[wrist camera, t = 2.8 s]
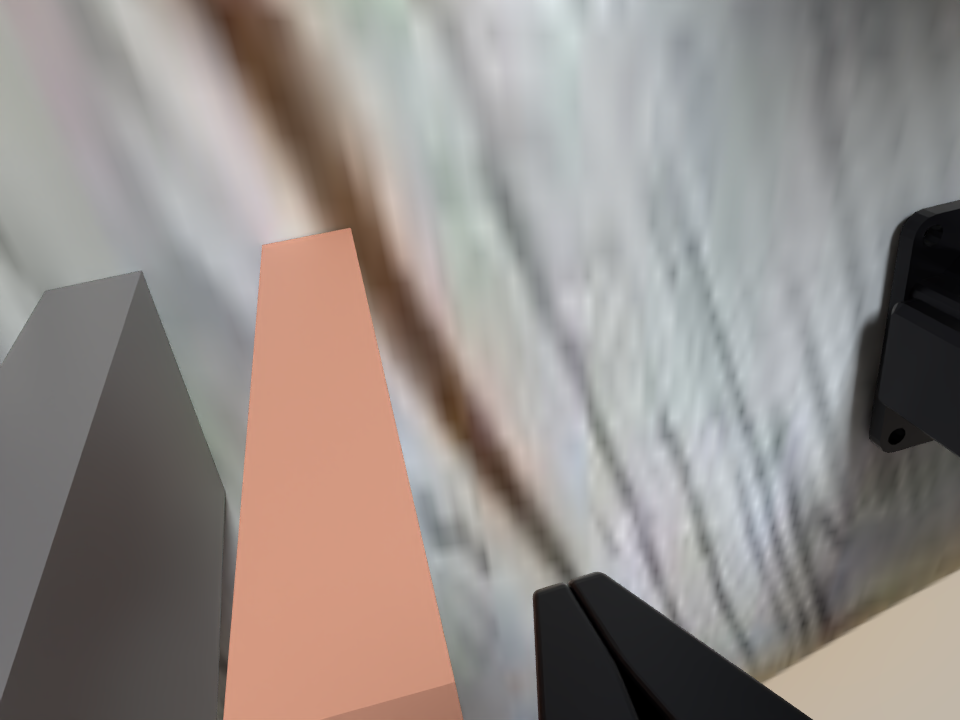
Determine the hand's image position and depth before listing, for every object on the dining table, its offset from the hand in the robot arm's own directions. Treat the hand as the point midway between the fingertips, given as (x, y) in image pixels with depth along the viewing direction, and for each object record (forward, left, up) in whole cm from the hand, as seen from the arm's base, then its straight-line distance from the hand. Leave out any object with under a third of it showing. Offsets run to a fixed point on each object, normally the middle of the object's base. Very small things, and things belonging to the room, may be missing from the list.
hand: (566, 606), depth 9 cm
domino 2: (+2, 0, -8) cm, 8 cm away
